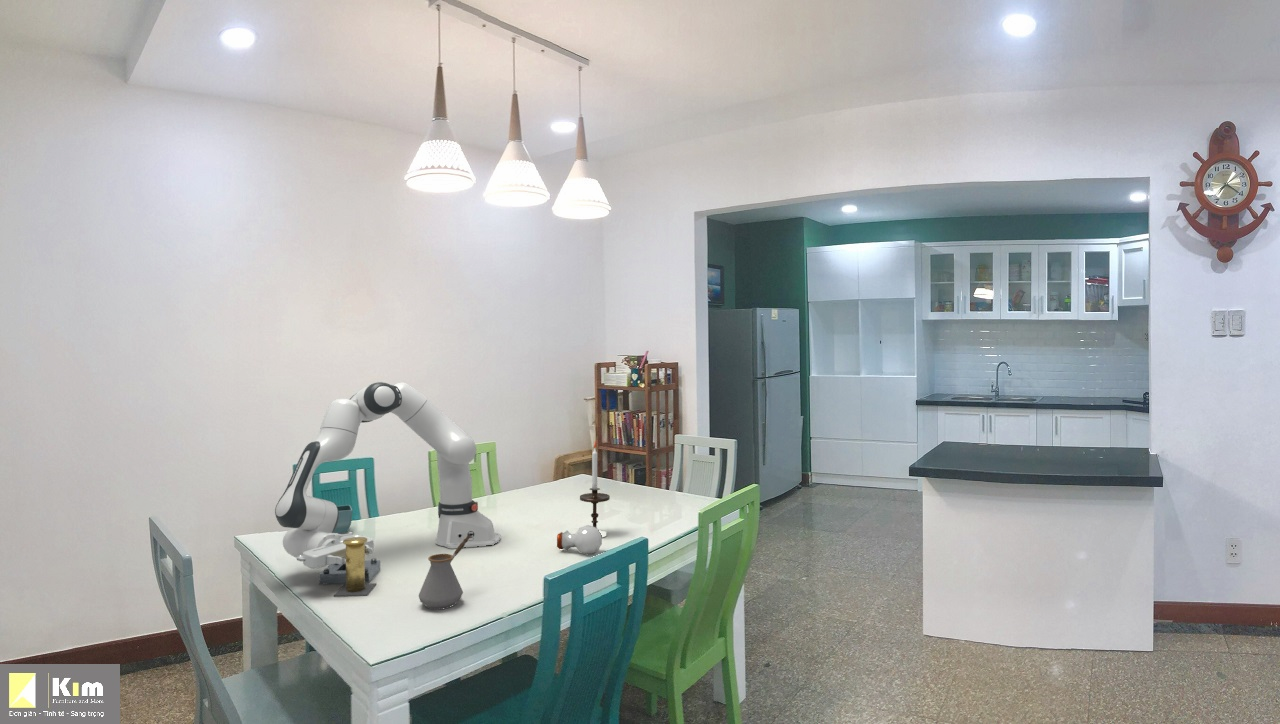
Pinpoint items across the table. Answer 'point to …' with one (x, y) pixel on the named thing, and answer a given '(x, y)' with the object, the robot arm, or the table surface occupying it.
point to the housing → (338, 572)
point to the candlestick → (594, 490)
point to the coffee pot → (441, 581)
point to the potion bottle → (581, 540)
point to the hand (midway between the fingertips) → (357, 556)
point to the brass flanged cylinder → (355, 563)
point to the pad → (364, 592)
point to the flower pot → (344, 519)
